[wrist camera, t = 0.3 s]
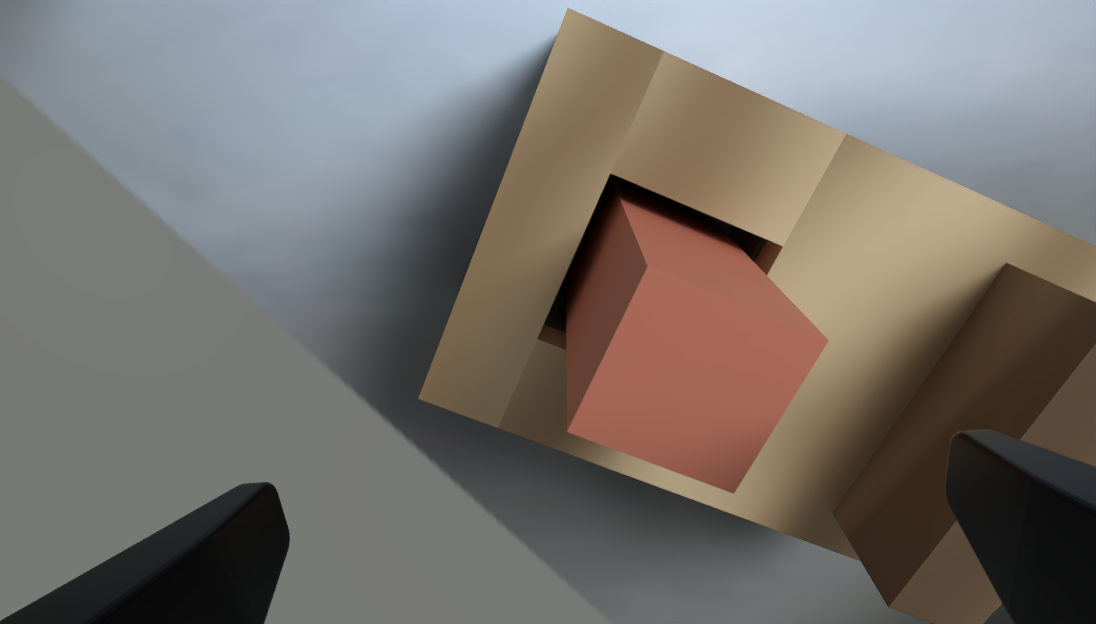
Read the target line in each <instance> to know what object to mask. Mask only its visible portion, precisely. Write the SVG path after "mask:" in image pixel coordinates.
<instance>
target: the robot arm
mask: <svg viewBox="0 0 1096 624" xmlns="http://www.w3.org/2000/svg"><path fill="white" fill-rule="evenodd" d="M945 494H946V499H947V502H948V504H949V506H950V508H951V510H952V512H953V514H954V516H955V518H956V519H957V521H958V523H959V525H960V527H961V529H962V531H963V532H964V534H965V536H966V538H967V540H968V542H969V543H970V545H971V547H972V549H973V551H974V553H975V555H976V556H977V558H978V560H979V562H980V564H981V566H982V567H983V569H984V571H985V573H986V575H987V577H988V579H989V580H990V582H991V584H992V586H993V588H994V590H995V592H996V593H997V595H998V597H999V599H1000V600H1001V602H1002V604H1003V605H1004V607H1005V609H1006V611H1007V612H1008V614H1009V615H1010V617H1011V618H1012V620H1013V622H1014V623H1015V624H1096V467H1095V466H1092V465H1089V464H1086V463H1084V462H1081V461H1078V460H1075V459H1072V458H1070V457H1067V456H1064V455H1061V454H1058V453H1056V452H1053V451H1050V450H1047V449H1044V448H1042V447H1039V446H1036V445H1033V444H1031V443H1028V442H1025V441H1022V440H1019V439H1017V438H1014V437H1011V436H1008V435H1005V434H1003V433H1000V432H997V431H994V430H991V429H979V430H966V431H958V432H956V433H955V434H954V435H953V436H952V438H951V440H950V445H949V453H948V462H947V470H946V478H945ZM289 539H290V536H289V529H288V525H287V522H286V519H285V515H284V512H283V509H282V506H281V502H280V499H279V496H278V493H277V490H276V488H275V487H274V485H272V484H270V483H269V482H262V483H248V484H241V485H239V486H237V487H235V488H233V489H231V490H230V491H228V492H226V493H225V494H223V495H221V496H219V497H217V498H216V499H214V500H212V501H210V502H209V503H207V504H205V505H203V506H202V507H200V508H198V509H196V510H194V511H193V512H191V513H190V514H187V515H186V516H184V517H182V518H180V519H179V520H177V521H175V522H173V523H172V524H170V525H168V526H166V527H165V528H163V529H161V530H159V531H158V532H156V533H154V534H152V535H150V536H149V537H147V538H145V539H143V540H142V541H140V542H138V543H136V544H135V545H133V546H132V547H129V548H128V549H126V550H124V551H122V552H121V553H119V554H117V555H115V556H114V557H112V558H110V559H108V560H106V561H105V562H103V563H101V564H99V565H98V566H96V567H94V568H92V569H91V570H89V571H87V572H85V573H84V574H82V575H80V576H78V577H77V578H75V579H73V580H71V581H70V582H68V583H66V584H64V585H62V586H61V587H59V588H57V589H55V590H54V591H52V592H50V593H49V594H47V595H45V596H43V597H41V598H40V599H38V600H36V601H34V602H33V603H31V604H29V605H27V606H26V607H24V608H22V609H20V610H18V611H17V612H15V613H13V614H11V615H10V616H8V617H6V618H4V619H3V620H1V621H0V624H264V622H265V619H266V616H267V613H268V610H269V607H270V604H271V601H272V598H273V595H274V592H275V588H276V585H277V582H278V579H279V576H280V573H281V570H282V567H283V564H284V561H285V557H286V555H287V552H288V548H289Z"/></svg>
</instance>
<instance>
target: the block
mask: <svg viewBox="0 0 1096 624" xmlns="http://www.w3.org/2000/svg"><path fill="white" fill-rule="evenodd" d="M828 341H829V340H828V339H827V338H826V337H825V336H824V335H823V334H822V333H821V332H820V331H819V329H818V328H817V327H816V326H815V325H814V324H813V323H812V322H811V321H810V320H809V319H808V318H807V317H806V316H805V315H804V314H803V313H802V312H801V311H800V310H799V309H798V308H797V307H796V305H795V304H794V303H793V302H792V301H791V300H790V299H789V298H788V297H787V296H786V295H785V294H784V293H783V292H782V291H781V290H780V289H779V288H778V287H777V286H776V285H775V284H774V282H773V281H772V280H771V279H770V278H769V277H768V276H767V275H766V274H765V273H764V272H763V271H762V270H761V269H760V268H759V267H758V266H757V265H756V264H755V263H754V262H753V261H752V260H751V258H750V257H749V256H748V255H747V254H746V253H745V252H744V251H743V250H742V249H741V248H740V247H739V246H738V245H737V244H736V243H735V242H734V241H733V240H732V239H731V238H730V237H729V236H728V234H727V233H726V232H725V231H724V230H723V229H722V228H721V227H720V226H719V225H718V224H717V223H716V222H715V221H714V220H711V219H709V218H707V217H704V216H702V215H700V214H697V213H695V212H693V211H690V210H688V209H685V208H683V207H681V206H678V205H676V204H674V203H671V202H669V201H667V200H664V199H662V198H659V197H657V196H655V195H652V194H650V193H648V192H645V191H643V190H641V189H638V188H636V187H633V186H631V185H629V184H626V183H624V182H622V181H619V180H617V179H615V178H612V177H611V178H610V180H609V182H608V184H607V187H606V189H605V191H604V193H603V196H602V198H601V200H600V203H599V205H598V207H597V209H596V212H595V214H594V216H593V218H592V221H591V223H590V225H589V227H588V230H587V232H586V234H585V236H584V239H583V241H582V243H581V245H580V248H579V250H578V252H577V254H576V257H575V259H574V261H573V263H572V266H571V268H570V270H569V272H568V275H567V277H566V372H567V432H569V433H571V434H574V435H577V436H579V437H582V438H585V439H587V440H590V441H593V442H595V443H598V444H601V445H604V446H606V447H609V448H612V449H614V450H617V451H620V452H622V453H625V454H628V455H631V456H633V457H636V458H639V459H641V460H644V461H647V462H649V463H652V464H655V465H657V466H660V467H663V468H666V469H668V470H671V471H674V472H676V473H679V474H682V475H684V476H687V477H690V478H693V479H695V480H698V481H701V482H703V483H706V484H709V485H711V486H714V487H717V488H719V489H722V490H725V491H728V492H730V493H733V494H734V493H735V491H736V490H737V488H738V486H739V485H740V483H741V481H742V480H743V478H744V477H745V475H746V473H747V472H748V470H749V469H750V467H751V465H752V464H753V462H754V461H755V459H756V457H757V456H758V454H759V452H760V451H761V449H762V448H763V446H764V444H765V443H766V441H767V440H768V438H769V436H770V435H771V433H772V432H773V430H774V428H775V427H776V425H777V423H778V422H779V420H780V419H781V417H782V415H783V414H784V412H785V411H786V409H787V407H788V406H789V404H790V403H791V401H792V399H793V398H794V396H795V394H796V393H797V391H798V390H799V388H800V386H801V385H802V383H803V382H804V380H805V378H806V377H807V375H808V374H809V372H810V370H811V369H812V367H813V365H814V364H815V362H816V361H817V359H818V357H819V356H820V354H821V353H822V351H823V349H824V348H825V346H826V344H827V343H828Z"/></svg>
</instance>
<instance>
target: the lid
mask: <svg viewBox="0 0 1096 624" xmlns="http://www.w3.org/2000/svg"><path fill="white" fill-rule="evenodd" d="M610 173H611V174H613V175H616V176H618V177H621V178H623V179H625V180H628V181H630V182H632V183H635V184H637V185H639V186H642V187H644V188H646V189H649V190H651V191H654V192H656V193H658V194H661V195H663V196H665V197H668V198H670V199H672V200H675V201H677V202H680V203H682V204H684V205H687V206H689V207H691V208H694V209H696V210H698V211H701V212H703V213H705V214H708V215H710V216H713V217H715V218H717V219H720V220H722V221H724V222H727V223H729V224H731V225H734V226H736V227H738V228H741V229H743V230H746V231H748V232H750V233H753V234H755V235H757V236H760V237H762V238H764V239H767V240H766V242H765V244H764V245H763V247H762V249H761V251H760V253H759V255H758V256H757V258H756V260H755V262H754V263H755V264H756V265H757V266H758V267H759V268H760V269H761V270H762V271H763V272H764V273H765V274H766V275H767V276H768V277H769V278H770V279H771V280H772V281H773V282H774V284H775V285H776V286H777V287H778V288H779V289H780V290H781V291H782V292H783V293H784V294H785V295H786V296H787V297H788V298H789V299H790V300H791V301H792V302H793V303H794V304H795V305H796V307H797V308H798V309H799V310H800V311H801V312H802V313H803V314H804V315H805V316H806V317H807V318H808V319H809V320H810V321H811V322H812V323H813V324H814V325H815V326H816V327H817V328H818V329H819V331H820V332H821V333H822V334H823V335H824V336H825V337H826V338H827V339H828V340H829V341H828V343H827V344H826V346H825V348H824V349H823V351H822V353H821V354H820V356H819V357H818V359H817V361H816V362H815V364H814V365H813V367H812V369H811V370H810V372H809V374H808V375H807V377H806V378H805V380H804V382H803V383H802V385H801V386H800V388H799V390H798V391H797V393H796V394H795V396H794V398H793V399H792V401H791V403H790V404H789V406H788V407H787V409H786V411H785V412H784V414H783V415H782V417H781V419H780V420H779V422H778V423H777V425H776V427H775V428H774V430H773V432H772V433H771V435H770V436H769V438H768V440H767V441H766V443H765V444H764V446H763V448H762V449H761V451H760V452H759V454H758V456H757V457H756V459H755V461H754V462H753V464H752V465H751V467H750V469H749V470H748V472H747V473H746V475H745V477H744V478H743V480H742V481H741V483H740V485H739V486H738V488H737V490H736V491H735V493H734V494H733V493H730V492H728V491H725V490H722V489H719V488H717V487H714V486H711V485H709V484H706V483H703V482H701V481H698V480H695V479H693V478H690V477H687V476H684V475H682V474H679V473H676V472H674V471H671V470H668V469H666V468H663V467H660V466H657V465H655V464H652V463H649V462H647V461H644V460H641V459H639V458H636V457H633V456H631V455H628V454H625V453H622V452H620V451H617V450H614V449H612V448H609V447H606V446H604V445H601V444H598V443H595V442H593V441H590V440H587V439H585V438H582V437H579V436H577V435H574V434H571V433H569V432H567V372H566V333H564V332H562V331H559V330H557V329H554V328H551V327H549V326H546V325H544V322H545V320H546V318H547V315H548V313H549V311H550V309H551V306H552V304H553V302H554V300H555V297H556V295H557V293H558V290H559V288H560V286H561V284H562V281H563V279H564V277H565V275H566V272H567V270H568V268H569V266H570V263H571V261H572V259H573V257H574V254H575V252H576V250H577V247H578V245H579V243H580V241H581V238H582V236H583V234H584V232H585V229H586V227H587V225H588V223H589V220H590V218H591V216H592V214H593V211H594V209H595V207H596V204H597V202H598V200H599V198H600V195H601V193H602V191H603V189H604V186H605V184H606V182H607V180H608V177H609V175H610ZM418 399H420V400H423V401H425V402H428V403H431V404H434V405H436V406H439V407H442V408H445V409H447V410H450V411H453V412H455V413H458V414H461V415H464V416H466V417H469V418H472V419H475V420H477V421H480V422H483V423H485V424H488V425H491V426H494V427H496V428H499V429H502V430H504V431H507V432H510V433H513V434H515V435H518V436H521V437H524V438H526V439H529V440H532V441H534V442H537V443H540V444H543V445H545V446H548V447H551V448H554V449H556V450H559V451H562V452H564V453H567V454H570V455H573V456H575V457H578V458H581V459H584V460H586V461H589V462H592V463H594V464H597V465H600V466H603V467H605V468H608V469H611V470H614V471H616V472H619V473H622V474H624V475H627V476H630V477H633V478H635V479H638V480H641V481H643V482H646V483H649V484H652V485H654V486H657V487H660V488H663V489H665V490H668V491H671V492H673V493H676V494H679V495H682V496H684V497H687V498H690V499H693V500H695V501H698V502H701V503H703V504H706V505H709V506H712V507H714V508H717V509H720V510H723V511H725V512H728V513H731V514H733V515H736V516H739V517H742V518H744V519H747V520H750V521H753V522H755V523H758V524H761V525H763V526H766V527H769V528H772V529H774V530H777V531H780V532H782V533H785V534H788V535H791V536H793V537H796V538H799V539H802V540H804V541H807V542H810V543H812V544H815V545H818V546H821V547H823V548H826V549H829V550H832V551H834V552H837V553H840V554H842V555H845V556H848V557H851V558H853V559H856V560H859V561H861V562H862V564H863V566H864V567H865V569H866V571H867V572H868V574H869V576H870V577H871V579H872V581H873V582H874V584H875V586H876V587H877V589H878V591H879V592H880V594H881V596H882V597H883V599H884V601H885V602H886V604H887V606H888V607H889V608H891V609H894V610H897V611H900V612H903V613H905V614H908V615H911V616H914V617H916V618H919V619H922V620H925V621H928V622H930V623H933V624H983V623H984V622H985V621H986V620H987V619H988V618H989V616H990V615H991V614H992V613H993V612H994V611H995V610H996V609H997V608H998V607H999V606H1000V605H1001V603H1002V602H1001V600H1000V599H999V597H998V595H997V593H996V592H995V590H994V588H993V586H992V584H991V582H990V580H989V579H988V577H987V575H986V573H985V571H984V569H983V567H982V566H981V564H980V562H979V560H978V558H977V556H976V555H975V553H974V551H973V549H972V547H971V545H970V543H969V542H968V540H967V538H966V536H965V534H964V532H963V531H962V529H961V527H960V525H959V523H958V521H957V519H956V518H955V516H954V514H953V512H952V510H951V508H950V506H949V504H948V502H947V499H946V494H945V478H946V470H947V462H948V453H949V445H950V440H951V438H952V436H953V435H954V434H955V433H956V432H958V431H966V430H979V429H991V430H994V431H997V432H1000V433H1003V434H1005V435H1008V436H1011V437H1014V438H1017V439H1019V440H1022V441H1025V442H1028V443H1031V444H1033V445H1036V446H1039V447H1042V448H1044V449H1047V450H1050V451H1053V452H1056V453H1058V454H1061V455H1064V456H1067V457H1070V458H1072V459H1075V460H1078V461H1081V462H1084V463H1086V464H1089V465H1092V466H1095V467H1096V246H1094V245H1091V244H1089V243H1087V242H1085V241H1082V240H1080V239H1078V238H1076V237H1074V236H1071V235H1069V234H1067V233H1065V232H1063V231H1060V230H1058V229H1056V228H1054V227H1052V226H1049V225H1047V224H1045V223H1043V222H1040V221H1038V220H1036V219H1034V218H1032V217H1029V216H1027V215H1025V214H1023V213H1021V212H1018V211H1016V210H1014V209H1012V208H1009V207H1007V206H1005V205H1003V204H1001V203H998V202H996V201H994V200H992V199H990V198H987V197H985V196H983V195H981V194H979V193H976V192H974V191H972V190H970V189H967V188H965V187H963V186H961V185H959V184H956V183H954V182H952V181H950V180H948V179H945V178H943V177H941V176H939V175H937V174H934V173H932V172H930V171H928V170H925V169H923V168H921V167H919V166H917V165H914V164H912V163H910V162H908V161H906V160H903V159H901V158H899V157H897V156H895V155H892V154H890V153H888V152H886V151H883V150H881V149H879V148H877V147H875V146H872V145H870V144H868V143H866V142H864V141H861V140H859V139H857V138H855V137H853V136H850V135H848V134H846V133H844V132H841V131H839V130H837V129H835V128H833V127H830V126H828V125H826V124H824V123H822V122H819V121H817V120H815V119H813V118H810V117H808V116H806V115H804V114H802V113H799V112H797V111H795V110H793V109H791V108H788V107H786V106H784V105H782V104H780V103H777V102H775V101H773V100H771V99H768V98H766V97H764V96H762V95H760V94H757V93H755V92H753V91H751V90H749V89H746V88H744V87H742V86H740V85H738V84H735V83H733V82H731V81H729V80H726V79H724V78H722V77H720V76H718V75H715V74H713V73H711V72H709V71H707V70H704V69H702V68H700V67H698V66H696V65H693V64H691V63H689V62H687V61H684V60H682V59H680V58H678V57H676V56H673V55H671V54H669V53H667V52H665V51H662V50H660V49H658V48H656V47H653V46H651V45H649V44H647V43H645V42H642V41H640V40H638V39H636V38H634V37H631V36H629V35H627V34H625V33H623V32H620V31H618V30H616V29H614V28H611V27H609V26H607V25H605V24H603V23H600V22H598V21H596V20H594V19H592V18H589V17H587V16H585V15H583V14H581V13H578V12H576V11H574V10H572V9H569V8H568V9H567V12H566V14H565V17H564V19H563V22H562V25H561V27H560V30H559V32H558V35H557V38H556V40H555V43H554V45H553V48H552V51H551V53H550V56H549V59H548V61H547V64H546V66H545V69H544V72H543V74H542V77H541V79H540V82H539V85H538V87H537V90H536V92H535V95H534V98H533V100H532V103H531V105H530V108H529V111H528V113H527V116H526V119H525V121H524V124H523V126H522V129H521V132H520V134H519V137H518V139H517V142H516V145H515V147H514V150H513V152H512V155H511V158H510V160H509V163H508V166H507V168H506V171H505V173H504V176H503V179H502V181H501V184H500V186H499V189H498V192H497V194H496V197H495V199H494V202H493V205H492V207H491V210H490V212H489V215H488V218H487V220H486V223H485V226H484V228H483V231H482V233H481V236H480V239H479V241H478V244H477V246H476V249H475V252H474V254H473V257H472V259H471V262H470V265H469V267H468V270H467V273H466V275H465V278H464V280H463V283H462V286H461V288H460V291H459V293H458V296H457V299H456V301H455V304H454V306H453V309H452V312H451V314H450V317H449V319H448V322H447V325H446V327H445V330H444V333H443V335H442V338H441V340H440V343H439V346H438V348H437V351H436V353H435V356H434V359H433V361H432V364H431V366H430V369H429V372H428V374H427V377H426V380H425V382H424V385H423V387H422V390H421V393H420V395H419V398H418Z"/></svg>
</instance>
